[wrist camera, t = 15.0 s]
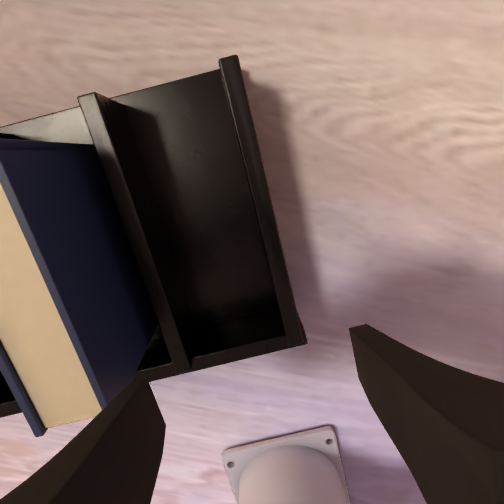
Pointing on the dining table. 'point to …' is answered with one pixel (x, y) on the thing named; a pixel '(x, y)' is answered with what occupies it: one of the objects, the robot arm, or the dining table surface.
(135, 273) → the book
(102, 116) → the rack
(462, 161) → the dining table surface
